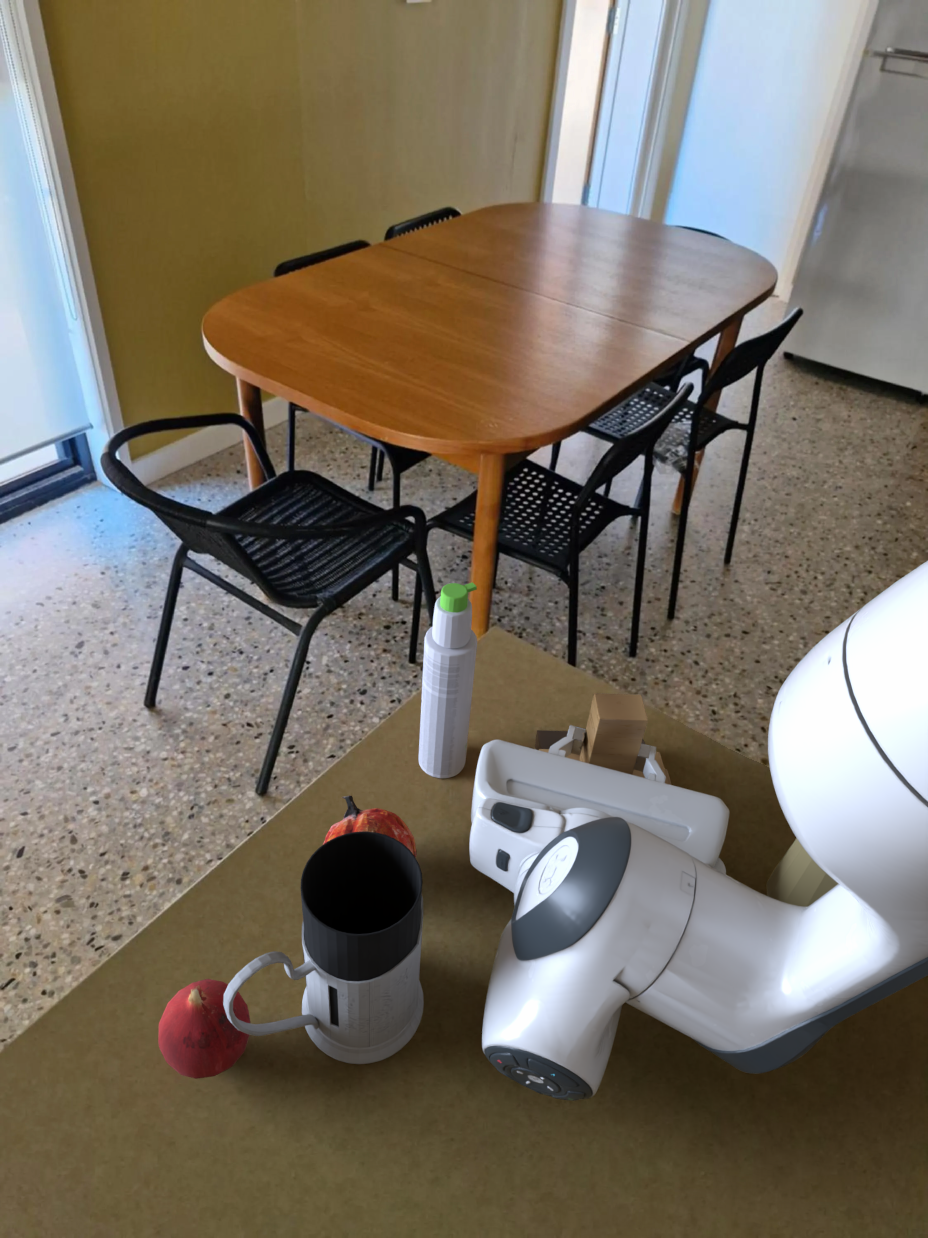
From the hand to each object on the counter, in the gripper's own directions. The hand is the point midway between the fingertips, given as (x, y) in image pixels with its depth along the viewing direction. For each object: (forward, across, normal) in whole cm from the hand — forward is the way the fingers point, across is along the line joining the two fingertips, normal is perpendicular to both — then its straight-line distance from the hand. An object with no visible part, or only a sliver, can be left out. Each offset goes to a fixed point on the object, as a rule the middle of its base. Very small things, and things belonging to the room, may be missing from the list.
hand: (611, 740), depth 76 cm
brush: (-1, 0, +6) cm, 6 cm away
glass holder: (-27, +14, +7) cm, 32 cm away
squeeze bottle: (-8, -18, +7) cm, 21 cm away
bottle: (-1, +15, +7) cm, 16 cm away
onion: (-32, +22, +7) cm, 39 cm away
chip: (+2, +4, +7) cm, 8 cm away
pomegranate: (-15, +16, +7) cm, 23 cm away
